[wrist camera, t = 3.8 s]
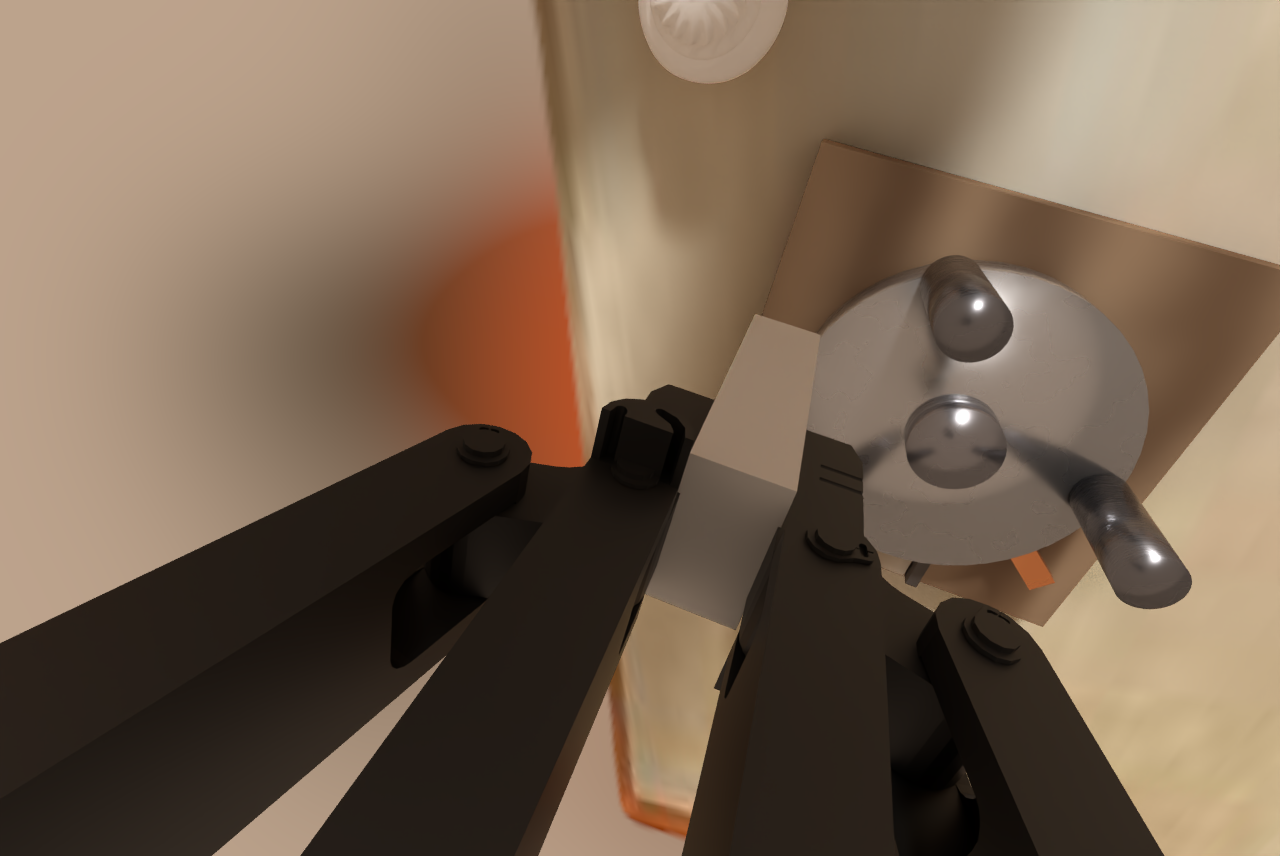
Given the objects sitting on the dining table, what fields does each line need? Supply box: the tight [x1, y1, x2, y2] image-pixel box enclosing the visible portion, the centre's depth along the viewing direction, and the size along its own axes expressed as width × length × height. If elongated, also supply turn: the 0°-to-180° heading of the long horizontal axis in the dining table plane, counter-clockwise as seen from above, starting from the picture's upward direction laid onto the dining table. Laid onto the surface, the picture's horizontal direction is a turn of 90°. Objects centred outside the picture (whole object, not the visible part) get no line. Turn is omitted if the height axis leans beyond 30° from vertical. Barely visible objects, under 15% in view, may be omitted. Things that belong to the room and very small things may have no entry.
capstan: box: [806, 255, 1192, 609], centre depth 28 cm, size 16×15×8 cm
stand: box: [762, 139, 1280, 627], centre depth 32 cm, size 20×20×3 cm
